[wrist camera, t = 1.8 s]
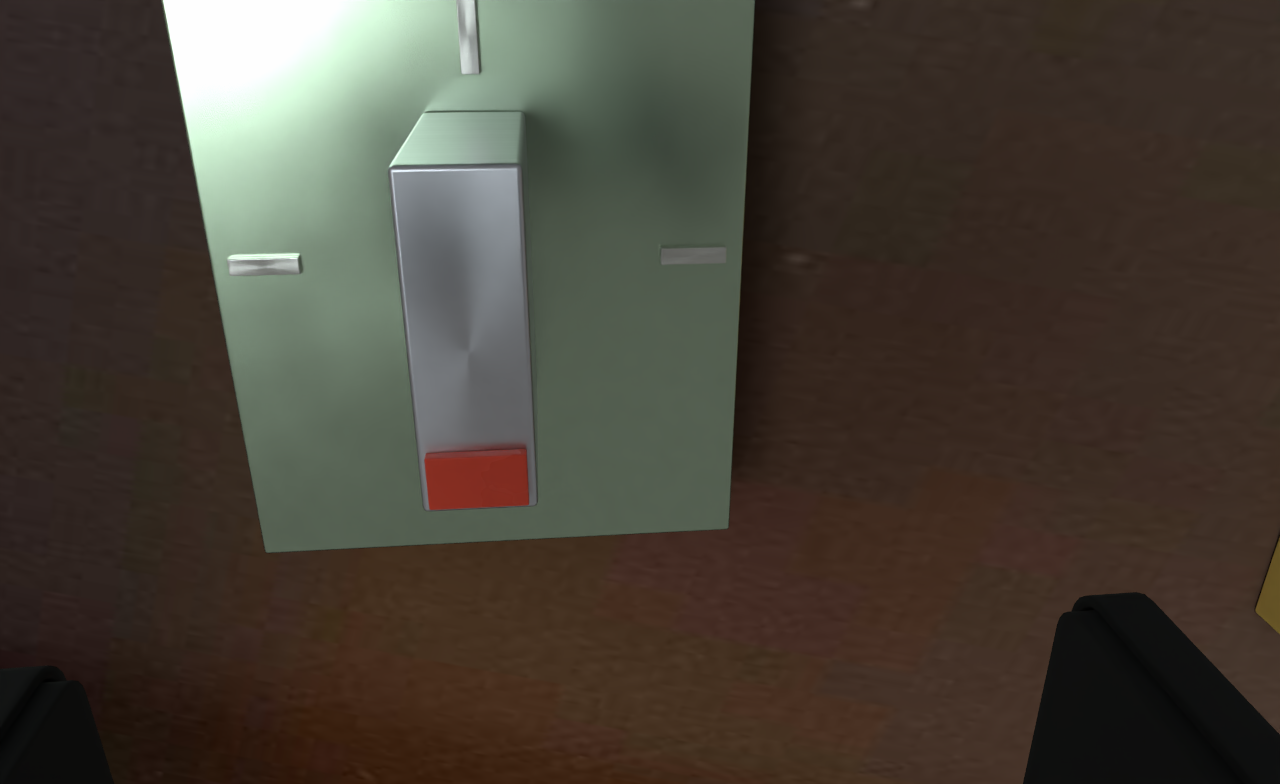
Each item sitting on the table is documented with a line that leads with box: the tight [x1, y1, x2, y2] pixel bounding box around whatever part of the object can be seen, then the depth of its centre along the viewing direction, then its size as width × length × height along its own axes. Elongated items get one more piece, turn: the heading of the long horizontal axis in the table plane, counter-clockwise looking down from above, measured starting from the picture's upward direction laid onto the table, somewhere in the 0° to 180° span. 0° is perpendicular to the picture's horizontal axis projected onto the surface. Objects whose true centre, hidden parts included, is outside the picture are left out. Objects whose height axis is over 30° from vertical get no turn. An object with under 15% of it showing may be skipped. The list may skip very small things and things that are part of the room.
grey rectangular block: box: [388, 112, 538, 511], centre depth 18 cm, size 6×2×5 cm, turn 0°
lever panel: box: [161, 0, 755, 553], centre depth 22 cm, size 14×11×3 cm
